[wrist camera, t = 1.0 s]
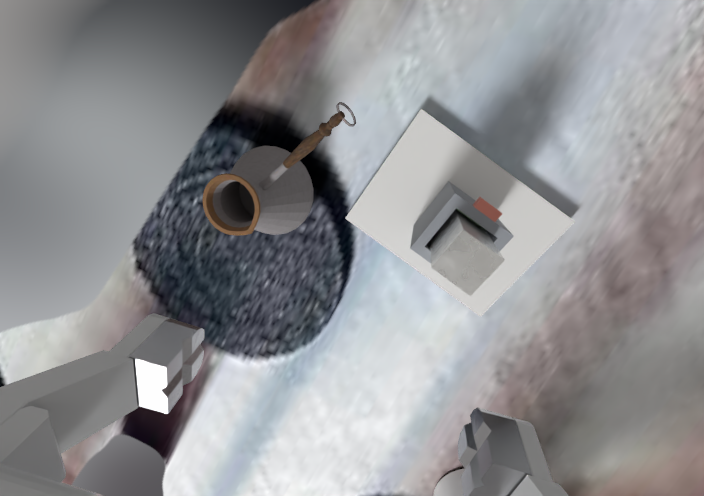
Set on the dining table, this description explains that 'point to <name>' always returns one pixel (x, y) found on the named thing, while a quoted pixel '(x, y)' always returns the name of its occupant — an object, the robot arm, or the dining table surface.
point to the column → (464, 252)
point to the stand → (454, 207)
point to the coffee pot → (266, 188)
